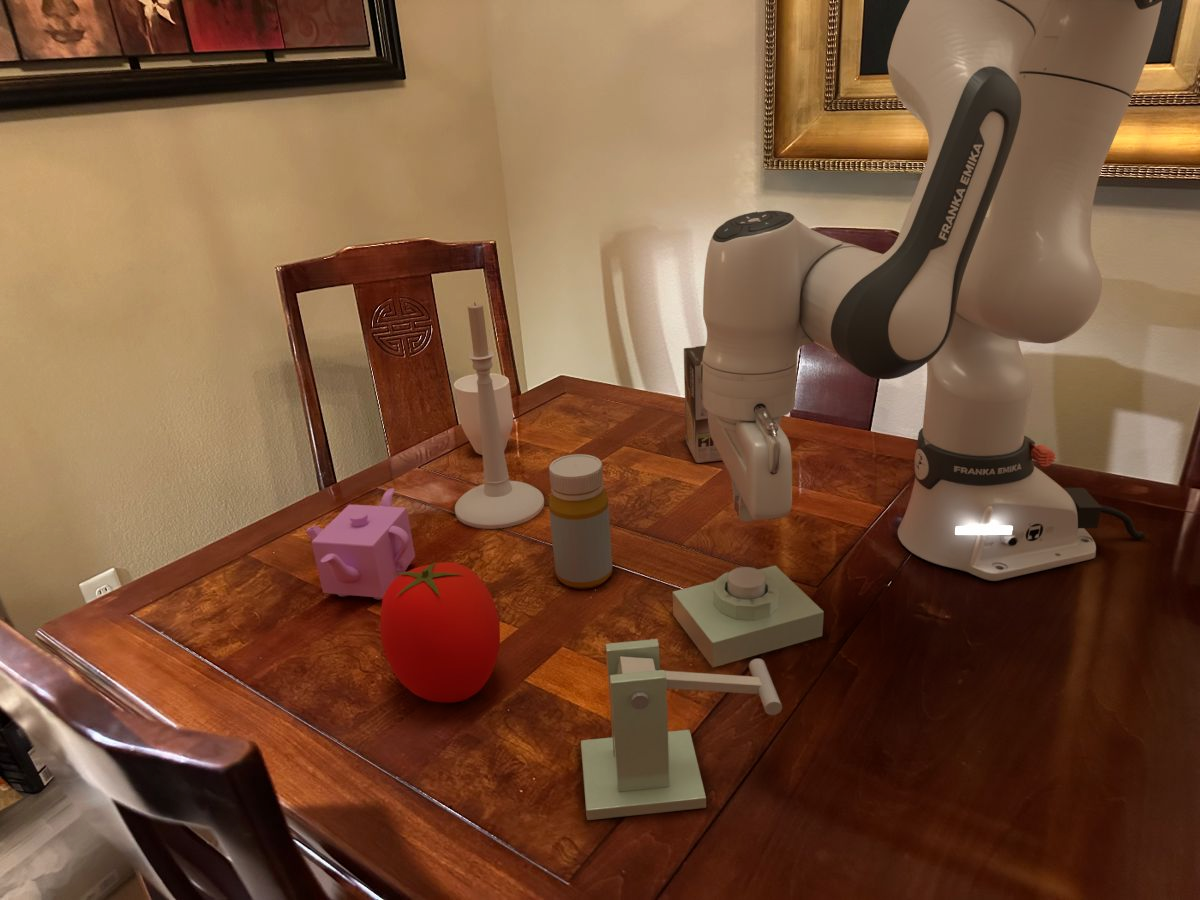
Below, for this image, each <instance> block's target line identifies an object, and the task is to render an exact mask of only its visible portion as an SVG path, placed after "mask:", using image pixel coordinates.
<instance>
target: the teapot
mask: <svg viewBox="0 0 1200 900" xmlns="http://www.w3.org/2000/svg"><path fill="white" fill-rule="evenodd" d="M394 493H395V488H393V487H391V488H389V489H387V490H385V492H384V493H383V495H382V498H381V502H380V505H368V504H351V503H349V504H348V505H347V506H345V508H344V509H342V510H341V512H339V514H338V515H337V516H335V517H334V519H332V520H331V521H330V523H328V524H327V525H326V526H325V527H324V528H320V527H319V526H318V525H314V526H310V527H308V528H307V529H306V530H305V531H304V532H305V534H306V535H307V536H308V537H309V538H310V540H311V542H310V544H311V547H312V551H313V556H314V560H315V564H316V568H317V573H318V578H319V582H320V586H321V591H322V593H323V594H331V595H337V596H339V597H348V596H355V597H357V596H358V597H368V598H373V599H374V600H383V596H384V594H385V592H386V590H387V588H388V587H389V585H390V583H391V582H392V581H393V580H394V579H396V578H397V577H399V576H400V575H402V574H395V573H405V572H407V571H406V570H407V569H408V568H409V565H410V564H411V563H412V561H413V560H414V559H415V558H416V552H415V546H414V540H413V535H412V531H411V523H410V517H409V513H408V508H407V507H404V506H403V507H400V506H399V507H398V506H393V496H394Z"/></svg>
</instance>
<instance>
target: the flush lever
mask: <svg viewBox="0 0 1200 900" xmlns="http://www.w3.org/2000/svg"><path fill="white" fill-rule="evenodd" d="M748 670H749V671H750V675H751V676H749V675H737V674H736V675H734V674H719V673H704V672H690V671H675V670H664V671H665V674H666V686H667V689H669V690H671V689H672V690H686V691H687V690H688V691H703V692H715V693H716V692H718V693H730V694H731V693H733V694H748V695H758V696H759V698H760V702H761V704H762V707H763V710H764V712H765V713H766V714H767V715H768V716H777V715H778V714H780V713H781V711H782V710H783V704H782V702H781V700H780V697H779V694H778V691H777V689H776V687H775V685H774V683H773V680H772V677H771V674H770V672H769V669H768V666H767V665H766V662H765V660H763V659H762V658H753V659H752V660H750V661H749V664H748ZM646 671H656V670H655V666H654V661H653V659H651V658H636V657H622V656H620V659H619V664H618V670H617V674H626V673H636V672H646Z"/></svg>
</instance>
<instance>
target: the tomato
mask: <svg viewBox="0 0 1200 900" xmlns="http://www.w3.org/2000/svg"><path fill="white" fill-rule="evenodd" d="M395 574H402V575H400V576H399V577H397V578H396V579H394V580H393V581H392V582H391V583H390V585H389V587H388V588H387V590H386V592H385V594H384V596H383V599H381V607H380V618H379V619H380V621H379V627H380V628H379V629H380V640H381V645H382V648H383V651H384V655H385V658H386V660H387V662H388V664H389V666H390V668H391V671H392V672H393V674H394V675H395V677H396V678H397V680H398V681H399V683H401V684H402V685H403V686H404V687H405V688H406V689H407V690H408V691H410V692H411V693H412V694H413V695H415V696H417V697H419V698H422V699H424V700H426V701H429V702H434V703H441V704H443V703H444V704H451V703H460V702H463V701H465V700H468V699H470V698H471V697H473V696H474V695H476V694H477V693H479V692H480V691H481V690H482V688H483V687H484V686H485V685H486V683H487V682H488V680H489V679H490V677H491V675H492V673H493V671H494V668H495V665H496V663H497V660H498V657H499V653H500V651H499V650H500V646H501V625H500V624H501V621H500V618H499V614H498V611H497V607H496V604H495V600H494V599H493V597H492V594H491V593H490V591H489V589H488V587H487V586H486V583H485V582H484V581H483V580H482V579H481V578H480V577H479V576H478V575H477V574H476V572H475V571H474V570H473V569H471V568H469V567H467V566H465V565H463V564H460V563H457V562H451V561H448V562H438V563H436V561H434V562H433V563H431V564H426V565H422V566H418V567H414V568H412V569H410V570H408V571H406V572H405V573H395Z"/></svg>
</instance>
